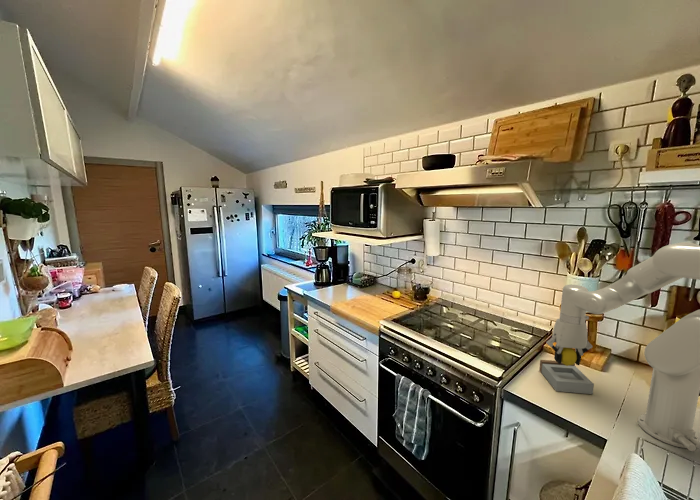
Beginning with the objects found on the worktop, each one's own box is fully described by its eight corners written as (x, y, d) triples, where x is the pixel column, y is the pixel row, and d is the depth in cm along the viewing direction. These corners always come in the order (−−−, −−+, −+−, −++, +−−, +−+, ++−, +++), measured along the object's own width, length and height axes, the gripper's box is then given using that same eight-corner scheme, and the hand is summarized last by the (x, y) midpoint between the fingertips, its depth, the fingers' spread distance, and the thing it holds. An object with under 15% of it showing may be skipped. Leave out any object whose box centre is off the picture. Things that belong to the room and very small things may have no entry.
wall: (573, 375, 118) (575, 364, 118) (541, 372, 121) (542, 361, 120) (571, 373, 120) (572, 361, 119) (539, 370, 122) (540, 359, 121)
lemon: (579, 369, 110) (581, 350, 108) (564, 369, 110) (566, 350, 108) (568, 361, 115) (570, 342, 114) (554, 361, 115) (556, 343, 114)
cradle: (592, 394, 106) (593, 384, 106) (556, 390, 109) (557, 381, 108) (574, 375, 118) (575, 366, 117) (541, 372, 120) (542, 363, 120)
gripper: (591, 315, 111) (586, 359, 114) (542, 313, 114) (537, 355, 117) (605, 323, 104) (598, 370, 107) (551, 320, 107) (546, 366, 110)
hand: (566, 362), depth 112 cm, fingers closed on lemon, 5 cm apart
